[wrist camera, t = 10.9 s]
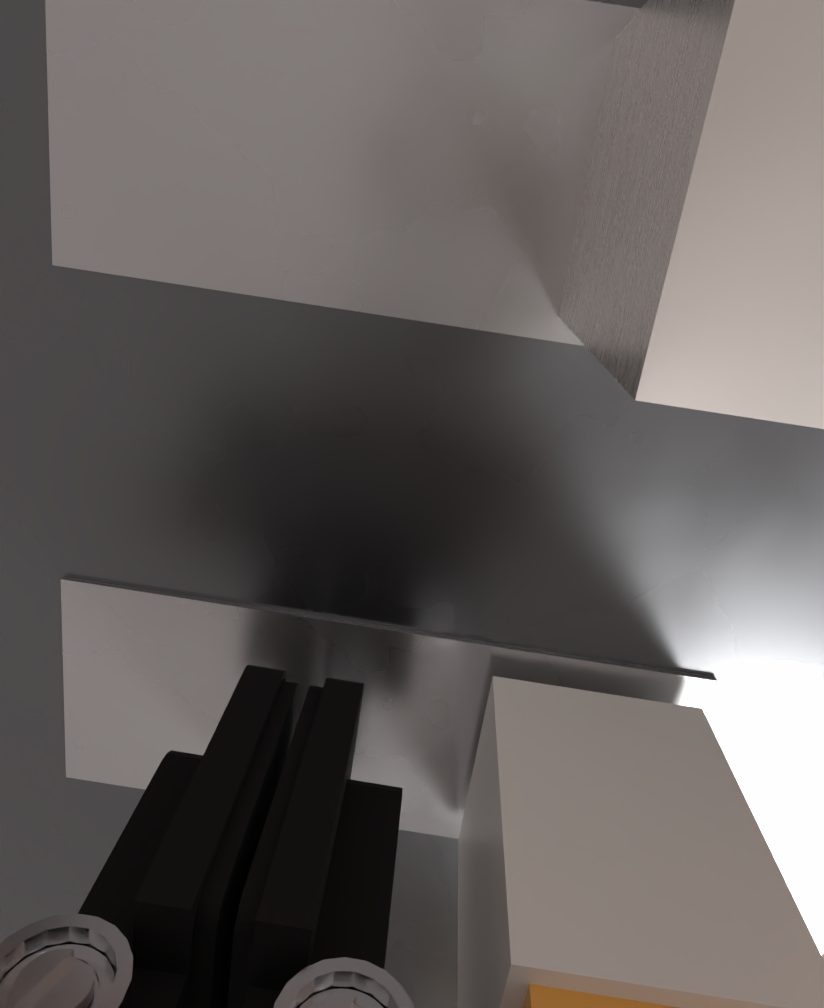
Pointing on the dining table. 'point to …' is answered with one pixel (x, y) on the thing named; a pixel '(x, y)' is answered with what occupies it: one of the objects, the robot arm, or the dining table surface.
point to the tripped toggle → (618, 864)
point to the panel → (405, 398)
